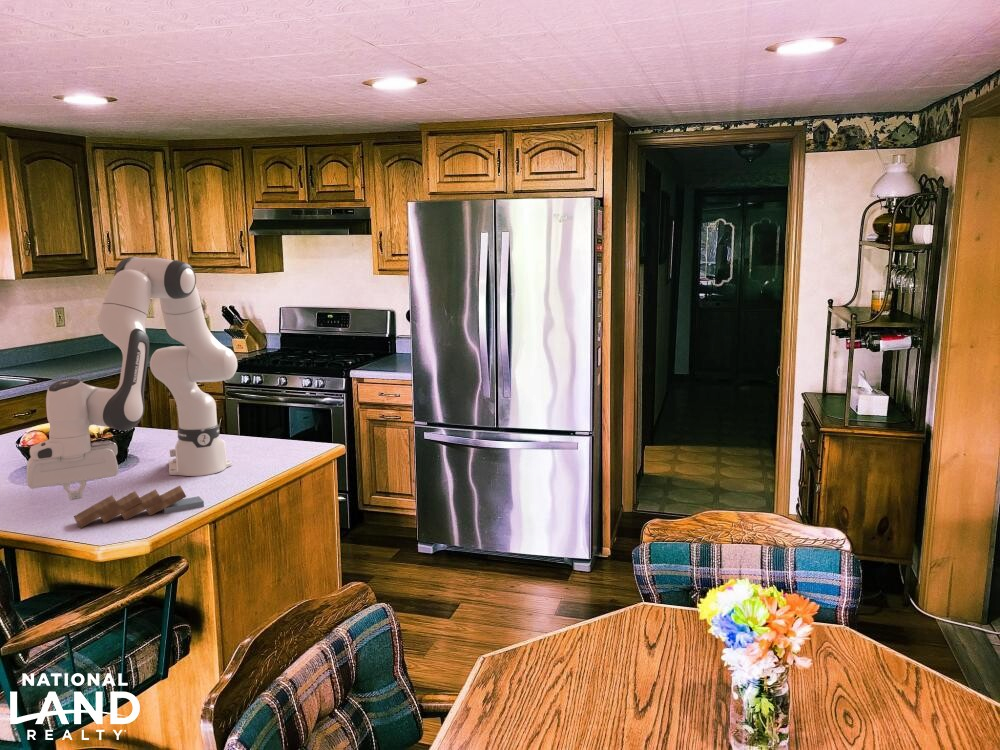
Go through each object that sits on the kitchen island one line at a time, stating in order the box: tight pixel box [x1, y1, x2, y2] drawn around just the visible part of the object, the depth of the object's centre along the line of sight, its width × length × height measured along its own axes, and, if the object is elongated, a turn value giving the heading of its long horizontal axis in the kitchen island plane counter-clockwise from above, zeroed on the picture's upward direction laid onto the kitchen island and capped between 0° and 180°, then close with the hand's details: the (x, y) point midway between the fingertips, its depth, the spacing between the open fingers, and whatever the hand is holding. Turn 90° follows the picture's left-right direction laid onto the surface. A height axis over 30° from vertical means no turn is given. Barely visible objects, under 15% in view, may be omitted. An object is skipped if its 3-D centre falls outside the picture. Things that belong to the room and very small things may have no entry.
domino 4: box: [145, 485, 187, 517], centre depth 212 cm, size 2×5×10 cm
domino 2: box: [100, 490, 142, 524], centre depth 206 cm, size 2×5×10 cm
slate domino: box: [161, 495, 205, 514], centre depth 215 cm, size 2×5×10 cm
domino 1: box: [73, 495, 119, 529], centre depth 203 cm, size 2×5×10 cm
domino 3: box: [120, 489, 162, 521], centre depth 209 cm, size 2×5×10 cm
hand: (75, 498), depth 200 cm, fingers closed
